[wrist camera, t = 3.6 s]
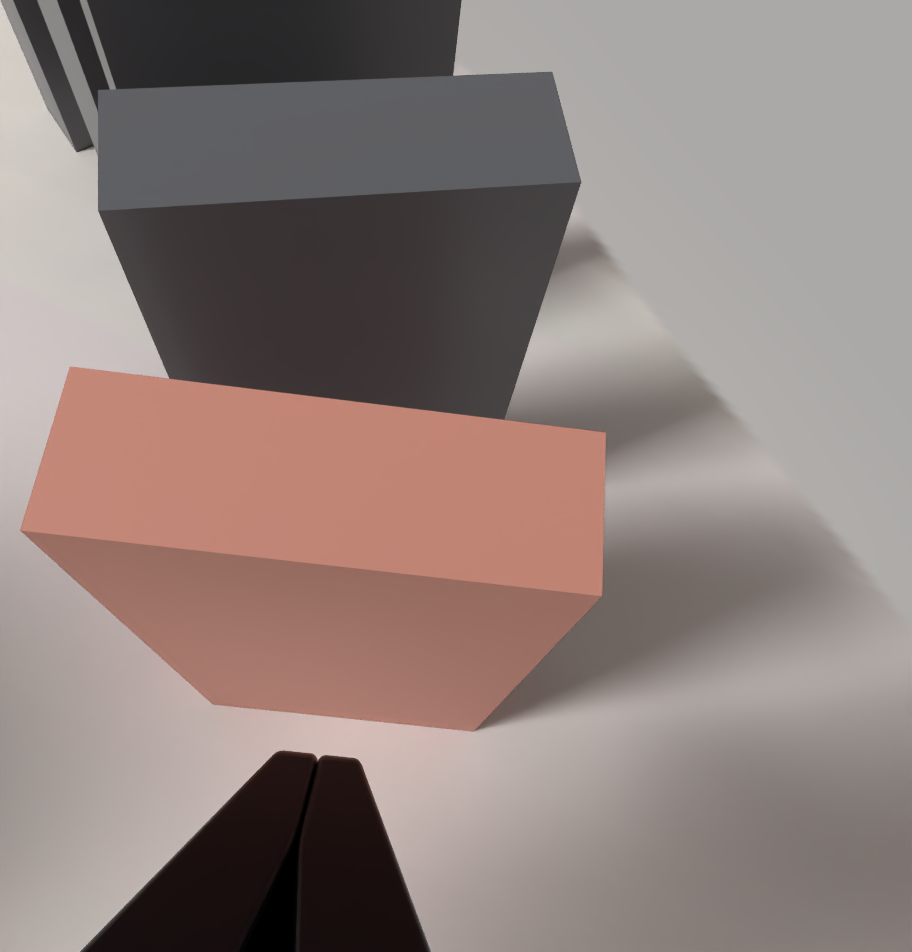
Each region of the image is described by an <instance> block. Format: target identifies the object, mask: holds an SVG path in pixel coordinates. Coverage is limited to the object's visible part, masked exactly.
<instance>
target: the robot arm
mask: <svg viewBox="0 0 912 952" xmlns="http://www.w3.org/2000/svg"><path fill="white" fill-rule="evenodd" d="M80 952H431V951H430V948H429V946H428V943H427V940H426V937H425V935H424V932H423V929H422V927H421V924H420V921H419V919H418V916H417V913H416V910H415V908H414V905H413V902H412V900H411V897H410V894H409V891H408V889H407V886H406V883H405V881H404V878H403V875H402V872H401V870H400V867H399V864H398V862H397V859H396V856H395V854H394V851H393V848H392V845H391V843H390V840H389V837H388V835H387V832H386V829H385V826H384V824H383V821H382V818H381V816H380V813H379V810H378V808H377V805H376V802H375V799H374V797H373V794H372V791H371V789H370V786H369V783H368V780H367V778H366V775H365V772H364V770H363V767H362V765H361V763H360V761H359V760H357V759H355V758H348V757H338V756H329V755H324V756H322V757H321V758H320V759H319V760H317V758H316V756H315V755H314V754H310V753H301V752H292V751H279V752H276V753H275V754H274V755H273V756H272V757H271V758H270V759H269V760H268V761H267V762H266V763H265V764H264V765H263V766H262V767H261V768H260V769H259V770H258V771H257V772H256V773H255V774H254V775H253V776H252V777H251V778H250V779H249V780H248V781H247V782H246V783H245V784H244V785H243V786H242V787H241V788H240V789H239V790H238V791H237V792H236V793H235V794H234V795H233V796H232V797H231V798H230V799H229V801H228V802H227V803H226V804H225V805H224V806H223V807H222V808H221V809H220V810H219V811H218V812H217V813H216V814H215V815H214V816H213V817H212V818H211V819H210V820H209V821H208V822H207V823H206V824H205V825H204V826H203V827H202V828H201V829H200V830H199V831H198V832H197V833H196V834H195V835H194V836H193V837H192V838H191V839H190V840H189V841H188V842H187V843H186V844H185V845H184V846H183V847H182V848H181V849H180V850H179V851H178V852H177V854H176V855H175V856H174V857H173V858H172V859H171V860H170V861H169V862H168V863H167V864H166V865H165V866H164V867H163V868H162V869H161V870H160V871H159V872H158V873H157V874H156V875H155V876H154V877H153V878H152V879H151V880H150V881H149V882H148V883H147V884H146V885H145V886H144V887H143V888H142V889H141V890H140V891H139V892H138V893H137V894H136V895H135V896H134V897H133V898H132V899H131V900H130V901H129V902H128V903H127V904H126V905H125V906H124V908H123V909H122V910H121V911H120V912H119V913H118V914H117V915H116V916H115V917H114V918H113V919H112V920H111V921H110V922H109V923H108V924H107V925H106V926H105V927H104V928H103V929H102V930H101V931H100V932H99V933H98V934H97V935H96V936H95V937H94V938H93V939H92V940H91V941H90V942H89V943H88V944H87V945H86V946H85V947H84V948H83V949H82V950H81V951H80Z"/></svg>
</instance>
